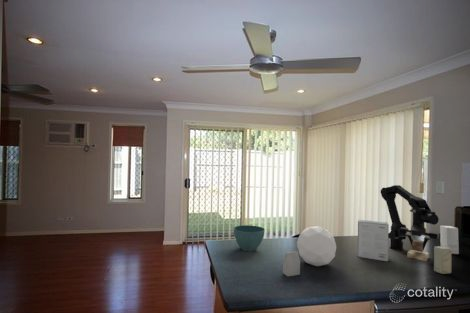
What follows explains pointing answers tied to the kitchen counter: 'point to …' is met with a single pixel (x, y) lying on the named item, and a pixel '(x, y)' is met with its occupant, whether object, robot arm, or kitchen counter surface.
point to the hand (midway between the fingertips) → (418, 248)
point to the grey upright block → (291, 264)
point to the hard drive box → (373, 240)
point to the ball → (316, 246)
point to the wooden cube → (417, 245)
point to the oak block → (418, 255)
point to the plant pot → (248, 237)
